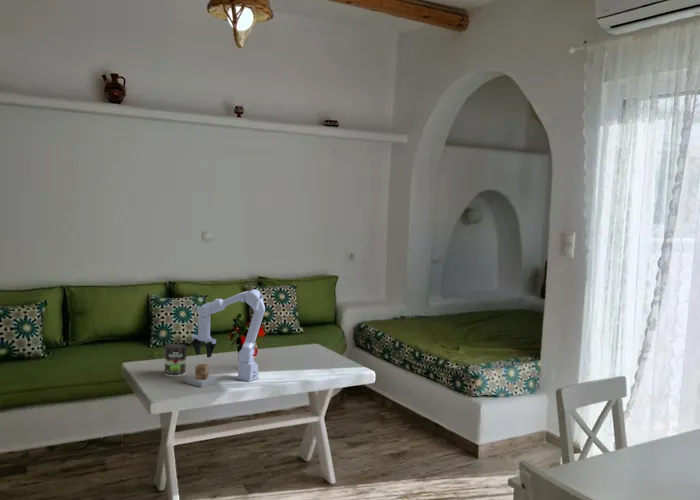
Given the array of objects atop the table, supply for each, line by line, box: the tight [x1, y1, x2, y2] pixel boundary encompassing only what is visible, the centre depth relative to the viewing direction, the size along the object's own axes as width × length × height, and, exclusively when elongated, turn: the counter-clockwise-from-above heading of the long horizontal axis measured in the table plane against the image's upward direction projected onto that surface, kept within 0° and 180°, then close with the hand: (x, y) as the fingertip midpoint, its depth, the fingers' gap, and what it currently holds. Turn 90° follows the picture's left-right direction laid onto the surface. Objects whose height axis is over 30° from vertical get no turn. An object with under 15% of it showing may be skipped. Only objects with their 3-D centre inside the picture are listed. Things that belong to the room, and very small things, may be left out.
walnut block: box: [194, 363, 210, 380], centre depth 291 cm, size 5×5×6 cm
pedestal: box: [185, 375, 218, 388], centre depth 291 cm, size 10×10×2 cm
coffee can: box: [164, 343, 188, 378], centre depth 302 cm, size 10×10×14 cm
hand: (203, 355), depth 302 cm, fingers open, 7 cm apart
